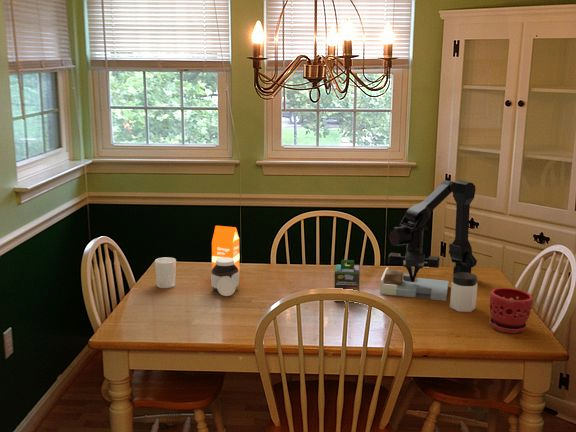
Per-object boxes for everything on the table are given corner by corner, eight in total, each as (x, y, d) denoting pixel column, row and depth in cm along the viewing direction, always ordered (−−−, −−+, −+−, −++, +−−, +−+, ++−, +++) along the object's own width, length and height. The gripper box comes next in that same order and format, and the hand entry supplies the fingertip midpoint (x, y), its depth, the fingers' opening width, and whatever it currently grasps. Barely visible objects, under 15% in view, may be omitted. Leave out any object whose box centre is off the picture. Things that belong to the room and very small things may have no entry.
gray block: (414, 283, 262) (415, 273, 262) (413, 286, 259) (414, 276, 258) (404, 282, 264) (404, 272, 263) (402, 285, 260) (403, 275, 259)
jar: (480, 310, 236) (483, 277, 233) (461, 313, 233) (464, 280, 230) (463, 302, 244) (465, 270, 241) (445, 305, 241) (447, 273, 238)
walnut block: (402, 280, 259) (402, 270, 258) (400, 285, 253) (401, 275, 252) (386, 279, 260) (387, 269, 259) (384, 284, 254) (385, 273, 254)
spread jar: (229, 284, 259) (228, 255, 257) (248, 291, 251) (248, 261, 249) (204, 291, 251) (203, 261, 248) (223, 299, 243) (223, 268, 241)
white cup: (151, 287, 254) (150, 261, 252) (162, 280, 262) (162, 256, 259) (169, 290, 252) (168, 264, 249) (180, 283, 259) (179, 258, 256)
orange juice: (232, 279, 265) (232, 229, 260) (211, 276, 267) (211, 227, 263) (239, 273, 272) (239, 225, 268) (219, 270, 275) (218, 223, 270)
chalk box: (359, 294, 250) (360, 256, 247) (359, 303, 241) (360, 263, 238) (334, 293, 251) (335, 255, 248) (333, 301, 242) (334, 262, 239)
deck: (448, 287, 260) (449, 273, 258) (445, 301, 245) (447, 286, 243) (385, 280, 266) (386, 267, 265) (379, 294, 251) (380, 279, 250)
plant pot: (520, 339, 212) (523, 303, 210) (480, 328, 221) (483, 293, 218) (535, 327, 222) (539, 293, 219) (497, 317, 230) (500, 283, 228)
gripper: (386, 245, 246) (384, 286, 250) (438, 250, 241) (436, 291, 245) (390, 237, 257) (389, 276, 260) (441, 242, 252) (438, 281, 255)
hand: (412, 281), depth 255 cm, fingers closed
